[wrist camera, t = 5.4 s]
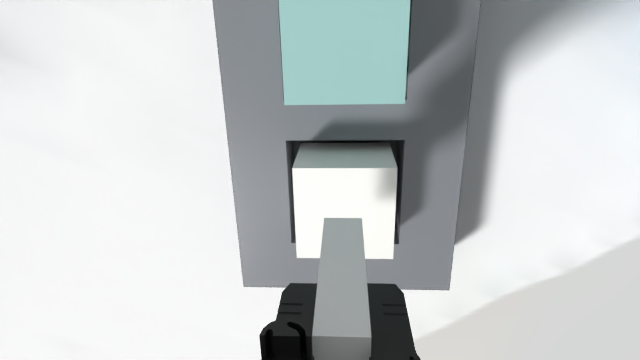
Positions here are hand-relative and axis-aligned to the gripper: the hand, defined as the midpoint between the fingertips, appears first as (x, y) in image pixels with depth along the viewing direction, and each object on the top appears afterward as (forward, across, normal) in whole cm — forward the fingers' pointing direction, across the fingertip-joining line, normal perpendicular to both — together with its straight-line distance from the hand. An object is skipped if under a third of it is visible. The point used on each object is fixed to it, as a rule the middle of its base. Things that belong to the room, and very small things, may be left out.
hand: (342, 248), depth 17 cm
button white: (+7, 0, 0) cm, 7 cm away
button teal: (+6, 0, +8) cm, 10 cm away
